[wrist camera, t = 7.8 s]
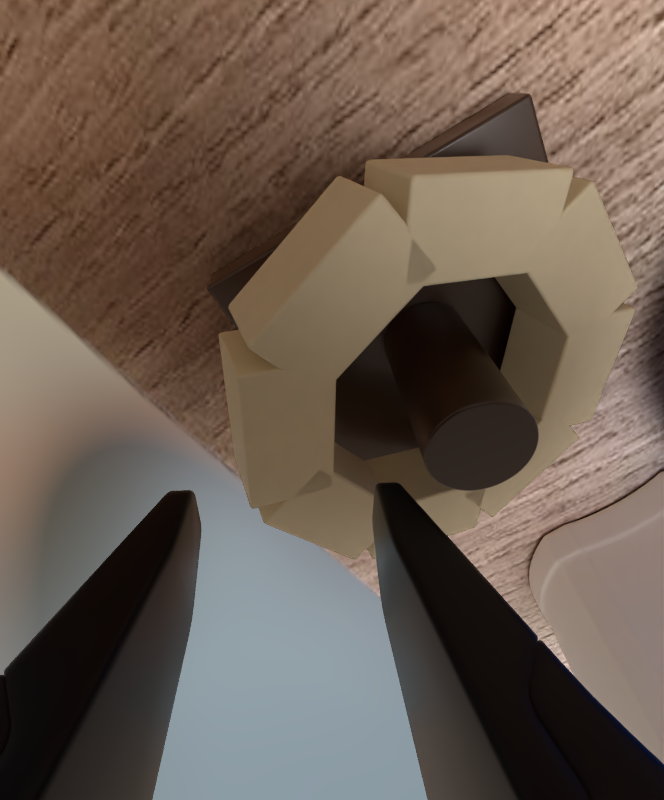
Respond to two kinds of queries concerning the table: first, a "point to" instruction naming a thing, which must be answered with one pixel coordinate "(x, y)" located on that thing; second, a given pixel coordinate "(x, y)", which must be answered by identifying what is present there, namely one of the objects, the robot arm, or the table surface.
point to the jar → (611, 606)
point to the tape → (386, 296)
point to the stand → (436, 345)
